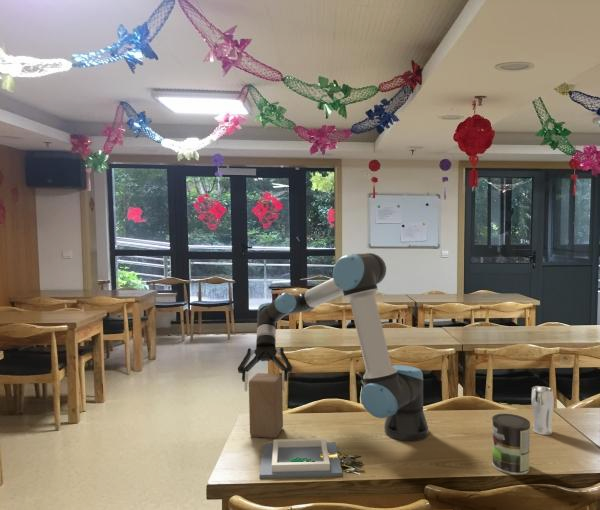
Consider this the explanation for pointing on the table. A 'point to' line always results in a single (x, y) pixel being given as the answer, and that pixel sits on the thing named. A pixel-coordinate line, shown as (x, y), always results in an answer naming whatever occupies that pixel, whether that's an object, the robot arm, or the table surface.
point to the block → (265, 405)
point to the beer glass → (542, 409)
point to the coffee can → (511, 444)
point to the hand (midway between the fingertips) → (264, 389)
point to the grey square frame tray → (282, 450)
